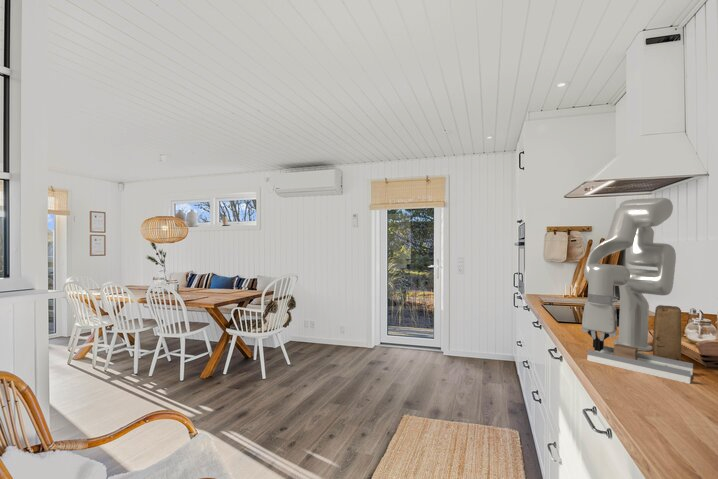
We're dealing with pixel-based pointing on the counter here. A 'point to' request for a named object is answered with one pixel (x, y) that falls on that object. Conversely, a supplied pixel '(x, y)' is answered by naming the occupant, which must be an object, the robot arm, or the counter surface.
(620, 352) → the walnut block
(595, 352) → the board
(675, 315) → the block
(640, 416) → the counter surface
